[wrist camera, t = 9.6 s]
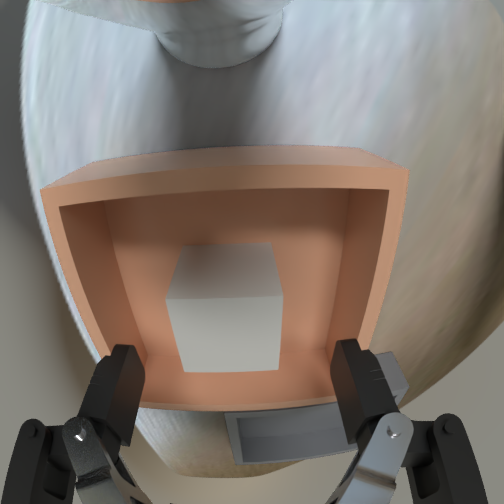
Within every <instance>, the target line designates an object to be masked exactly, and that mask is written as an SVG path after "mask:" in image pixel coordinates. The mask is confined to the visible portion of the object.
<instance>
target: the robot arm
mask: <svg viewBox="0 0 504 504" xmlns="http://www.w3.org/2000/svg"><path fill="white" fill-rule="evenodd" d="M381 369H382V368H381V366H380V363H379V361H378V359H377V357H376V356H375V355H374V354H373V353H372V352H371V351H370V350H369V349H367V350H361V348H360V345H359V343H358V341H357V339H356V338H352V339H344V340H337V341H336V344H335V348H334V352H333V356H332V360H331V364H330V376H331V380H332V384H333V387H334V391H335V395H336V399H337V402H338V406H339V410H340V414H341V418H342V422H343V426H344V430H345V434H346V438H347V442H348V445H349V444H354V443H357V446H358V451H357V453H356V455H355V457H354V459H353V461H352V462H351V464H350V466H349V468H348V470H347V471H346V473H345V475H344V477H343V478H342V480H341V482H340V483H339V485H338V486H337V488H336V490H335V491H334V492H333V493H332V495H331V496H330V498H329V499H328V500H327V502H326V503H325V504H389V503H390V500H391V498H392V496H393V494H394V492H395V489H396V483H395V479H396V476H397V474H398V472H399V469H400V467H406V470H407V475H408V479H409V484H410V489H411V493H412V498H413V504H488V501H487V497H486V493H485V489H484V485H483V482H482V478H481V475H480V471H479V468H478V465H477V462H476V459H475V456H474V453H473V450H472V447H471V445H470V442H469V439H468V436H467V433H466V431H465V428H464V426H463V423H462V421H461V420H460V418H459V417H457V416H455V415H454V414H449V413H448V414H443V415H441V416H439V417H438V418H437V419H436V420H435V421H413V420H410V419H409V418H408V417H407V416H406V415H404V414H401V413H400V411H399V409H398V407H397V405H396V402H395V400H394V397H393V395H392V392H391V390H390V387H389V385H388V382H387V380H386V379H385V375H384V373H383V371H382V370H381ZM144 383H145V369H144V366H143V364H142V362H141V359H140V357H139V355H138V352H137V350H136V348H135V346H134V345H127V344H116V345H115V346H114V347H113V350H112V352H111V355H110V356H108V355H105V356H104V357H103V358H102V359H101V360H100V362H99V363H98V364H97V366H96V369H95V371H94V374H93V376H92V378H91V381H90V384H89V386H88V389H87V392H86V394H85V397H84V399H83V402H82V405H81V408H80V410H79V413H78V415H77V416H76V417H73V418H70V419H69V420H68V421H67V422H66V423H65V424H64V425H59V426H45V425H44V424H43V423H42V422H40V421H39V420H37V419H29V420H27V421H25V422H24V423H23V424H22V426H21V428H20V431H19V434H18V437H17V440H16V443H15V447H14V450H13V454H12V457H11V461H10V464H9V468H8V472H7V477H6V481H5V486H4V490H3V495H2V500H1V504H72V502H73V495H74V488H75V487H76V490H77V493H78V495H79V497H80V499H81V502H82V504H152V502H151V501H150V499H149V498H148V497H147V496H146V494H145V493H144V492H143V491H142V490H141V489H140V487H139V486H138V484H137V483H136V481H135V479H134V478H133V476H132V474H131V472H130V471H129V469H128V467H127V465H126V463H125V462H124V460H123V458H122V456H121V454H120V453H119V450H120V445H122V446H128V447H129V446H130V443H131V438H132V434H133V429H134V425H135V420H136V416H137V412H138V408H139V403H140V399H141V395H142V391H143V387H144ZM76 476H77V478H78V482H76ZM75 482H76V483H75ZM170 504H171V503H170Z"/></svg>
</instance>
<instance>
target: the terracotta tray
mask: <svg viewBox="0 0 504 504" xmlns="http://www.w3.org/2000/svg"><path fill="white" fill-rule="evenodd" d="M409 171H410V170H408V169H406V168H404V167H402V166H400V165H398V164H395V163H393V162H391V161H389V160H386V159H384V158H382V157H379V156H377V155H375V154H372V153H370V152H367V151H365V150H363V149H360V148H351V147H333V146H306V145H256V146H228V147H211V148H197V149H185V150H174V151H165V152H156V153H148V154H140V155H133V156H126V157H120V158H113V159H107V160H101V161H96V162H92V163H90V164H88V165H86V166H84V167H82V168H80V169H78V170H76V171H74V172H72V173H70V174H68V175H66V176H64V177H62V178H60V179H58V180H56V181H55V182H53V183H51V184H49V185H47V186H46V187H44V188H42V189H40V193H41V197H42V202H43V206H44V210H45V214H46V218H47V222H48V226H49V229H50V233H51V236H52V240H53V243H54V246H55V249H56V253H57V256H58V259H59V262H60V265H61V267H62V270H63V273H64V276H65V279H66V281H67V284H68V287H69V289H70V292H71V294H72V297H73V299H74V302H75V304H76V306H77V309H78V311H79V313H80V316H81V318H82V320H83V322H84V325H85V327H86V329H87V331H88V333H89V335H90V337H91V339H92V341H93V343H94V345H95V347H96V349H97V351H98V353H99V355H100V357H101V359H102V358H103V357H104V356H105V355H108V356H110V355H111V352H112V350H113V347H114V346H115V345H116V344H127V345H134V346H135V348H136V350H137V352H138V355H139V357H140V359H141V362H142V364H143V366H144V369H145V383H144V387H143V391H142V395H141V399H140V403H139V407H142V408H152V409H165V410H183V411H248V410H266V409H279V408H290V407H299V406H308V405H315V404H322V403H329V402H335V401H337V399H336V395H335V391H334V387H333V384H332V380H331V376H330V364H331V360H332V356H333V352H334V348H335V344H336V341H337V340H344V339H352V338H356V339H357V341H358V343H359V345H360V348H361V350H367V349H368V347H369V344H370V341H371V339H372V336H373V333H374V330H375V326H376V323H377V320H378V317H379V314H380V310H381V307H382V304H383V300H384V297H385V293H386V289H387V286H388V282H389V278H390V274H391V270H392V266H393V262H394V257H395V253H396V248H397V244H398V239H399V234H400V229H401V224H402V218H403V213H404V207H405V200H406V194H407V187H408V179H409ZM265 242H271V245H272V249H273V253H274V257H275V261H276V266H277V270H278V274H279V278H280V283H281V287H282V291H283V312H282V327H281V342H280V355H279V368H278V370H267V371H248V372H184V369H183V365H182V362H181V359H180V355H179V351H178V348H177V344H176V341H175V337H174V333H173V329H172V325H171V321H170V317H169V313H168V309H167V305H166V301H165V298H166V295H167V292H168V289H169V286H170V283H171V280H172V277H173V274H174V271H175V268H176V265H177V262H178V259H179V256H180V253H181V250H182V247H183V246H186V245H211V244H237V243H265Z"/></svg>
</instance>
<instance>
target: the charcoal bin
mask: <svg viewBox="0 0 504 504" xmlns="http://www.w3.org/2000/svg"><path fill="white" fill-rule="evenodd" d="M375 356H376V357H377V359H378V361H379V363H380V366H381V368H382V369H381V370H382V371H383V373H384V375H385V379H386V380H387V382H388V385H389V387H390V390H391V392H392V395H393V397H394V400H395V402H396V405H397V406H398V404H399V403H400V401H401V400H402V398H403V396H404V395H405V393H406V392H407V390H408V388H409V385H408V383H407V381H406V379H405V377H404V375H403V373H402V371H401V369H400V367H399V365H398V363H397V361H396V359H395V357H394V355H393V353H392V352H387V353H382V354H377V355H375ZM224 416H225V421H226V425H227V430H228V434H229V439H230V443H231V448H232V452H233V456H234V460H235V464H236V465H248V464H266V463H279V462H288V461H297V460H305V459H312V458H318V457H324V456H330V455H335V454H340V453H345V452H349V451H354V450H358V446H357V443H354V444H349V445H348V442H347V438H346V434H345V430H344V426H343V422H342V418H341V414H340V410H339V406H338V402H337V401H335V402H329V403H322V404H315V405H308V406H299V407H290V408H279V409H266V410H248V411H224Z"/></svg>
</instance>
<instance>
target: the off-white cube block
mask: <svg viewBox="0 0 504 504" xmlns="http://www.w3.org/2000/svg"><path fill="white" fill-rule="evenodd" d="M165 301H166V305H167V309H168V313H169V317H170V321H171V325H172V329H173V333H174V337H175V341H176V344H177V348H178V351H179V355H180V359H181V362H182V365H183V369H184V372H248V371H267V370H278V368H279V355H280V342H281V327H282V312H283V291H282V287H281V283H280V278H279V274H278V270H277V266H276V261H275V257H274V253H273V249H272V245H271V242H265V243H237V244H211V245H186V246H183V247H182V250H181V253H180V256H179V259H178V262H177V265H176V268H175V271H174V274H173V277H172V280H171V283H170V286H169V289H168V292H167V295H166V298H165Z"/></svg>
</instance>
